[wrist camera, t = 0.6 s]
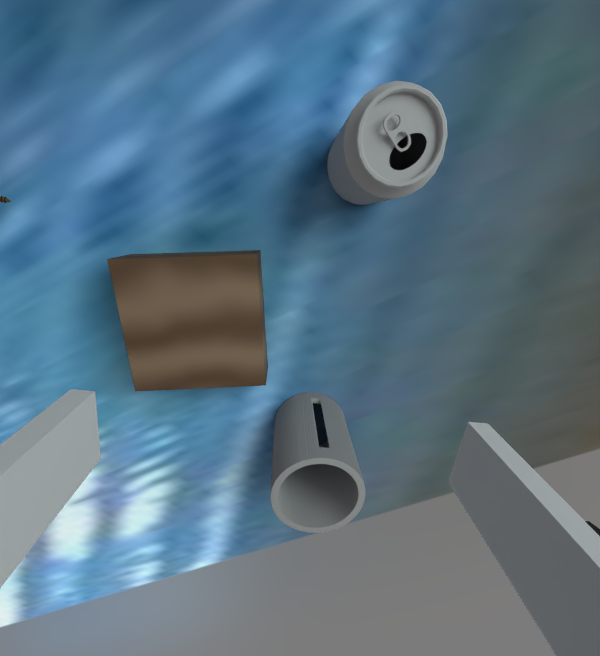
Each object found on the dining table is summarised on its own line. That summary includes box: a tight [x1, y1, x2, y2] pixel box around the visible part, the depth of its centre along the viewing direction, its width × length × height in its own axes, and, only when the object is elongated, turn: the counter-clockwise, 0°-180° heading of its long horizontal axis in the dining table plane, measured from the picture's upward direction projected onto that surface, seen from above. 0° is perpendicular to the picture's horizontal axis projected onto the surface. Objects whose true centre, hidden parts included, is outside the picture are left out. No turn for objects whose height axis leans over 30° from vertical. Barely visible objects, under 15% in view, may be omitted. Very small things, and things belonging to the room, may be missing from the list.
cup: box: [270, 392, 365, 533], centre depth 36 cm, size 9×9×12 cm
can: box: [327, 81, 447, 205], centre depth 27 cm, size 8×8×12 cm
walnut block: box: [107, 250, 268, 391], centre depth 35 cm, size 14×14×5 cm
